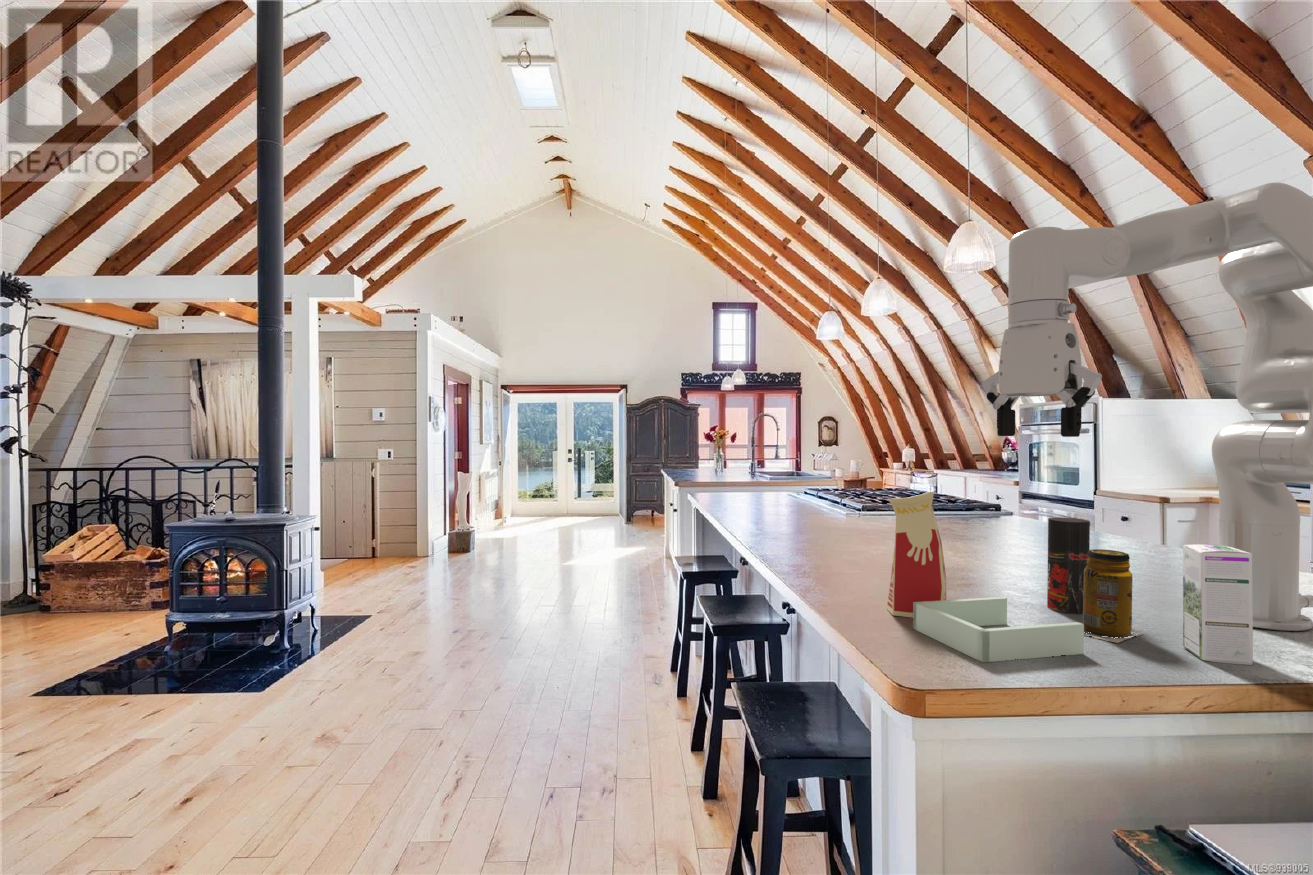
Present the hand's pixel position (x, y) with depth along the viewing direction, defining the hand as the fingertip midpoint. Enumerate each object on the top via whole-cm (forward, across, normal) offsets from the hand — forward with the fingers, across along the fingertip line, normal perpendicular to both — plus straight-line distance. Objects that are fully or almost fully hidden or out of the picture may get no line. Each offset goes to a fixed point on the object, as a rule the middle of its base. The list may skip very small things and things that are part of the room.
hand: (1036, 436), depth 96 cm
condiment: (+29, -3, -12) cm, 32 cm away
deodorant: (+29, +8, -20) cm, 36 cm away
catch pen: (+29, +2, +7) cm, 30 cm away
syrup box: (+29, -16, -14) cm, 36 cm away
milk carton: (+29, +18, +5) cm, 35 cm away
